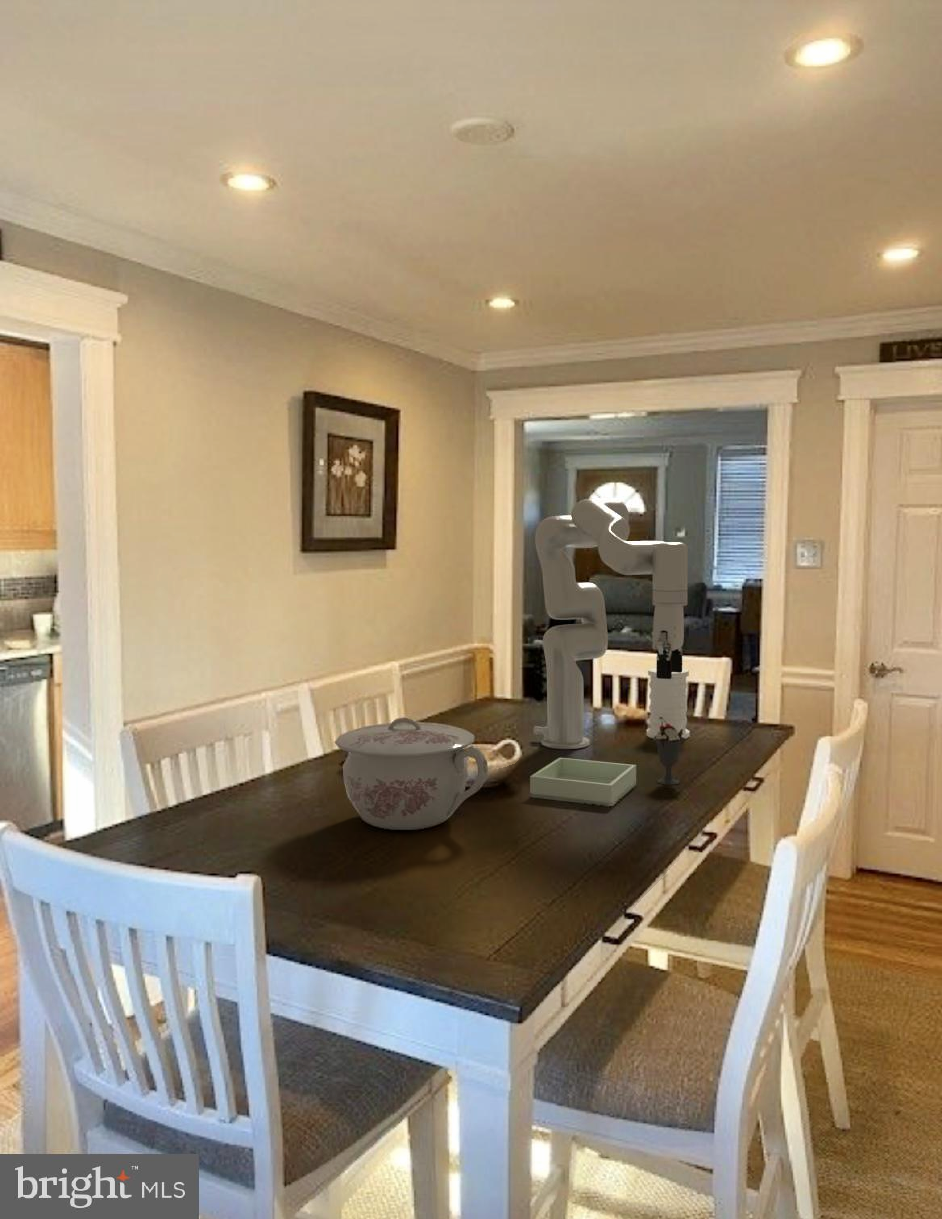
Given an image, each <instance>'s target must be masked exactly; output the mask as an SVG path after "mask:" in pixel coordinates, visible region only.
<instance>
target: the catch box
mask: <svg viewBox="0 0 942 1219" xmlns="http://www.w3.org/2000/svg"><path fill="white" fill-rule="evenodd" d="M529 782H530V783H529V784H530V785H529V791H530V792H529V793H530V795H529V797H530V798H537V799H545V800H553V801H560V802H561V801H562V802H568V803H576V804H577V803H578V804H584V803H586V804H585V805H592V804H595V805H594V806H600V805H603V806H602V807H609V806H612V807H613V806H615V804H617V803H618V802H619V801H620V800H621V799H622V798H623V797H624V796H625V795H627V793H629V792H630V791H631V790H632V789H634V787H635V786H637V764H629V763H628V764H626V763H620V762H619V763H617V762H607V761H598V760H588V759H579V758H568V757H558V758H557V759H555V760H553V761H552V762H550V763H549V764H547V765H546V766H544V767H542V768H541V769H539V770H538V771H537V772H535V773H533V774H532V775H530V778H529ZM619 799H620V800H619ZM617 801H618V802H617Z"/></svg>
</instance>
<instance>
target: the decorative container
mask: <svg viewBox="0 0 942 1219" xmlns="http://www.w3.org/2000/svg"><path fill="white" fill-rule="evenodd" d="M647 675H648V676H649V677H650V681H649V683H648V686H649V689H650V692H649V695H648V696H649V697H648V698H649V700H650V704H649V706H648V708H649V709H648V710H649V712H650V716H649V718H648V721H649V723H650V724H649V726H650V727H649V728H647V729H646V736H647V737H648V738H651V739H654V737H655V736H656V735H657V733H658V732H659V731H660V726H661V725H662V721H663V725H662V726H664V727H665V726H666V723H667V724H670V725H671V726H673V727H674V728H675V729H676V730H677V731H678V733H679V732H680V730H681V729H683V734H682V736H681V737H683V738H684V740H686V739H689V738H690V736H691V735H690V734H691V733H690V732H691V731H690V730H688V729H687V728H686V727H687V725H686V724H687V722H688V719H687V714H686V713H687V711H688V706H687V700H688V694H687V688H688V683H687V677H688V676H689V669H686V668H683V667H682V672H681V673H677V672H672V678H671V679H659V678H657V677H656V676H657V667H652V668H648V669H647ZM659 717H662V718H663V719H664V720H663V719H662V718H661V719H662V720H661V719H660V718H659ZM665 722H666V723H665ZM688 737H689V738H688Z"/></svg>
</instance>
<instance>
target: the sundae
mask: <svg viewBox="0 0 942 1219" xmlns="http://www.w3.org/2000/svg"><path fill="white" fill-rule="evenodd" d="M659 718H660V719H661V718H662V717H659ZM662 719H663V718H662ZM662 719H661V720H662ZM663 720H664V719H663ZM665 723H666V722H665ZM662 725H663V721H662ZM662 725H661V726H660V731H659V732H658V733H657V735H656V736H655V737H654V738H653V741H655V742H656V745H657V752H658V759H659V762H660V763H661V764H662V765H663V766H664V768H665V776H664V777H663V778H660V779H658V780H657V783H658V784H659V783H660V784H659V785H664V786H676V784H677V785H679V784H680V782H681V781H679V780H678V779H675V778H674V777H673V775H672V768H673V767H674V766H675V765H677V763H678V762H679V758H680V757H679V756H680V748H681V744H682V742H683V741H684V740H685V739H684V738H683V737H681V736H682V734H683V729H681V730H680V732H679V733H678V731H677V730H676V729H675V728H674V727H673V726H671V725H670V724H667V723H666V726H665V727H664V726H662Z"/></svg>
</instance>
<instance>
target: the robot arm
mask: <svg viewBox="0 0 942 1219" xmlns="http://www.w3.org/2000/svg"><path fill="white" fill-rule="evenodd" d="M629 513H630V512H629V509H628V507H627V506H626V504H625V503H624V502H623V501H622V500H620V499H617V498H584V499H581V500H580V501H578V502H576V503H575V504H574V506H572V509H571V512H570V515H569V514H568V515H566V514H565V515H564V514H563V515H562V514H561V515H553V516H548V517H546V518H544V519H542V520H541V521H540V522H539V523H538V526H537V527H536V529H535V535H534V536H535V538H534V539H535V540H534V542H535V549H536V553H537V557H538V560H539V563H540V566H541V572H542V583H543V584H542V585H543V596H544V604H545V610H546V614H547V615H548V616H549V618H551V619H553V620H578V619H579V620H581V623H572V624H571V623H570V624H561V625H560V624H559V625H555V626H552V627H550V628H548V629H547V630H546V632H545V633H544V635H543V637H542V647H543V653H544V657H545V665H546V666H545V667H546V689H547V690H546V694H547V695H546V696H547V697H546V698H547V699H546V704H547V705H546V708H547V710H546V716H547V717H546V720H547V723H546V724H547V725H545V727H543V726H539V725H538V726H537V725H536V726H533V733H534V735H536V736H542V737H543V738H541V745H542V746H544V747H546V748H550V749H556V750H557V749H558V750H576V749H577V750H579V749H583V748H586V747H588V746H589V745H590V742H591V741H590V739H589V738H588V737H585V736H584V676H583V674H582V673H583V672H582V671H581V670H580V667H579V666H578V665H577V663H576V662H577V661H583V660H594V659H599V658H601V657H603V656H604V655H605V654H606V652H607V650H608V644H609V636H608V627H607V626H608V625H607V624H608V623H607V614H606V613H607V612H606V603H605V597H604V594H603V592H602V591H601V589H600V587H599V586H598V585H596V584H595V583H592V582H578V581H577V580H576V570H575V565H574V563H573V561H572V559H571V557H570V555H568V554H567V553H566V551H564V549H590V548H596V547H597V551H598V554H599V557H600V560H601V561H602V562H603V563H604V564H605V565H606V566H608V567H609V568H610V569H612V570H613V571H614V572H616V573H618V574H621V575H625V576H633V575H652V606H655V607H654V613H653V624H652V625H653V626H652V629H653V630H652V643H651V644H652V650H654V651H656V668H657V676H656V677H657V678H659V679H671V678H672V672H677V673H681V672H682V668H683V648H682V647H683V645H684V638H685V634H684V633H685V623H684V622H685V620H684V613H685V612H684V606H685V607H686V606H688V560H689V559H688V554H689V553H688V550H689V549H688V547H687V545H686V544H685V543H683V542H680V541H679V542H678V541H677V542H676V541H675V542H674V541H671V542H667V541H663V540H662V541H660V540H640V541H639V540H638V541H637V540H635V541H634V540H633V541H627V540H628V539H629V535H630V533H631V532H630V530H631V529H630V524H629V520H630V514H629Z"/></svg>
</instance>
